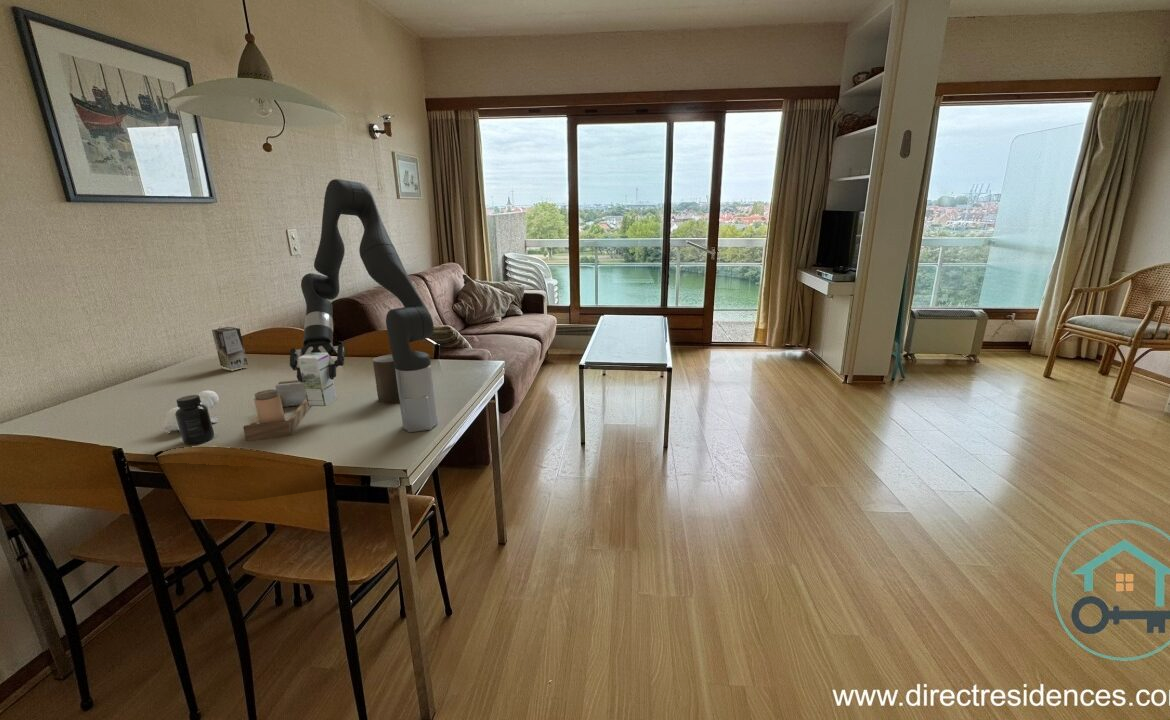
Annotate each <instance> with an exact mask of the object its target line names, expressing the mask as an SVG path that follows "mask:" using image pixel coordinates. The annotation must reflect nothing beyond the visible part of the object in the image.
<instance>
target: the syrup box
mask: <svg viewBox="0 0 1170 720" xmlns="http://www.w3.org/2000/svg"><path fill="white" fill-rule="evenodd" d="M329 361H330V360H329V355H328V353H307V354H305V355H303V354H301V355H300V356H299V358H298V363H299V366H300V371H301V376H302V380H303V385H304V390H305V394H306V399H307V404H308V406H311V407H327V406H329V405H331V404H332V403H334V402H335V401H337V400H338V397H337V392H336V388H335V383H334V379H333V380H331V379H330V378H329V365H330V363H329Z"/></svg>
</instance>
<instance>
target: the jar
mask: <svg viewBox="0 0 1170 720" xmlns="http://www.w3.org/2000/svg"><path fill="white" fill-rule="evenodd" d="M253 402H254V406H255V409H256V414H257V416H258V419H259V423H260V424H262V423H271V422H280V421H286V417H285V411H284V407H282V403H281V398H280V394H278V393H277V390H276V389H275V388H274V389H265V390H261V391H258V392H256V393H255V394H254V398H253Z"/></svg>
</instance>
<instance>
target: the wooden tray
mask: <svg viewBox="0 0 1170 720" xmlns="http://www.w3.org/2000/svg"><path fill="white" fill-rule="evenodd" d="M295 382H300V381H299V380H298V379H295V380H293V379H292V380H285V381H284V380H283V381H279V382H278V383H277V384H285V383H295ZM309 408H310V409H311V408H312V406H308V404H307V399H306V398H305V399H304V401H303V402H302V403H301V405H298V407H297V408H296V410H295V412H294V413H292V415H291V416H290V418H289V419H288V420H285V421H280V422H271V423H262V424H260V423H259V419H258V415H257V416H256V417H255V419H253V420H252V421H251V422H250V423H249V424H246V425H243V427H242V428H243V432H244V436H245V441H247V442H249V441H255V440H257V441H258V440H266V439H274V438H281V437H288V436H289V437H290V436H292V434H293V433H294V432H295V430H296V429H297V428H298V426H299V424H301V423H300V422H302V420H303V418H304V417H305V416H306V414H307V413H308V411H309V410H310V409H309Z"/></svg>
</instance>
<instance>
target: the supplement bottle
mask: <svg viewBox="0 0 1170 720" xmlns="http://www.w3.org/2000/svg"><path fill="white" fill-rule="evenodd" d="M175 402H176V404H177V407H179V409H178V410H177V411H176V413H175V416H176V420H177V423H178V427H179V430H180V431H179V433H180V436H181V437H180V438H181V440H182V443H183V442H184V445H187V444H190V445H191V446H192V445H197V444H202V443H201V442H203V443H206V442H208V441H210V440H212V439H213V438H215V431H214V426H213V422H211V419H210V416H209V414H210V412H209V409H208V408H207V407H206V406H205V405H203V404H200V403H201V400H200V397H199V395H197V394H192V395H191V394H190V395H185V396H182V397H180V398H177V399H176V401H175ZM205 441H206V442H205Z"/></svg>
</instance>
